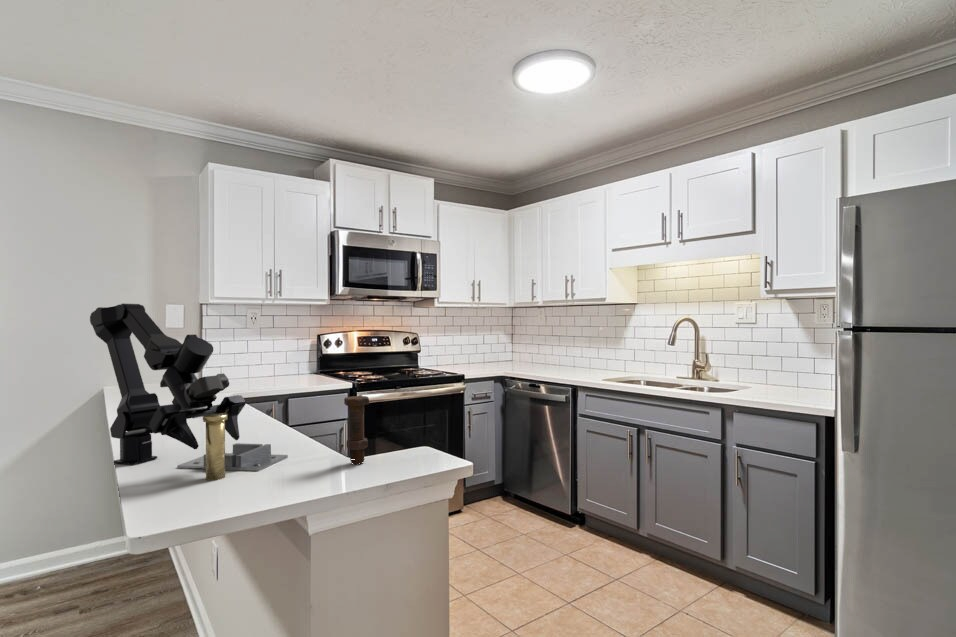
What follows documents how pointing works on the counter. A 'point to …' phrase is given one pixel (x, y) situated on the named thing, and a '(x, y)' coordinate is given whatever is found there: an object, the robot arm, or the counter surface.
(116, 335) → the robot arm
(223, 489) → the counter surface
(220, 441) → the pin
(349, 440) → the bolt
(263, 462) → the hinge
